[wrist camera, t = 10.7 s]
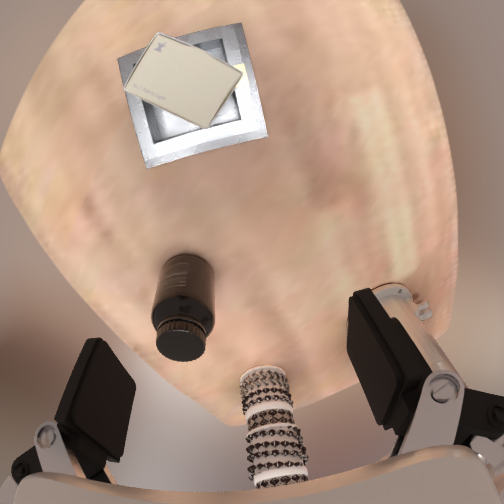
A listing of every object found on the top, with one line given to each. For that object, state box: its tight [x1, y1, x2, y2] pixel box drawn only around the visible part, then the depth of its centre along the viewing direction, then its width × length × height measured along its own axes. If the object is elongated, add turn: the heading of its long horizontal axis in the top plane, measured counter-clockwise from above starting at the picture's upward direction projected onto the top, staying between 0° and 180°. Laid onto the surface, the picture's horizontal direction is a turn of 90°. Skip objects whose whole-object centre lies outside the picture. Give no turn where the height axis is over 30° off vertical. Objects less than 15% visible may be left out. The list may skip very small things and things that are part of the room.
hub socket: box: [117, 23, 268, 169], centre depth 22 cm, size 13×13×6 cm
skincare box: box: [123, 32, 244, 130], centre depth 18 cm, size 6×4×12 cm
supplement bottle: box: [151, 255, 215, 362], centre depth 30 cm, size 7×7×12 cm
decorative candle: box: [240, 365, 308, 489], centre depth 36 cm, size 9×9×25 cm
